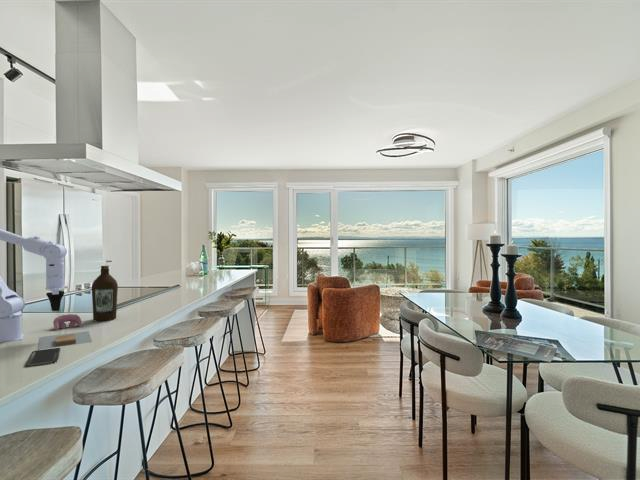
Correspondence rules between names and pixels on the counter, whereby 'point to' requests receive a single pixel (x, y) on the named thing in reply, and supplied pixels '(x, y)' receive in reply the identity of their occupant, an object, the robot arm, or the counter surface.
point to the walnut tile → (65, 340)
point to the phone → (43, 357)
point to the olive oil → (104, 296)
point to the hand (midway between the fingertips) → (55, 310)
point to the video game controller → (64, 318)
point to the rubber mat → (50, 340)
